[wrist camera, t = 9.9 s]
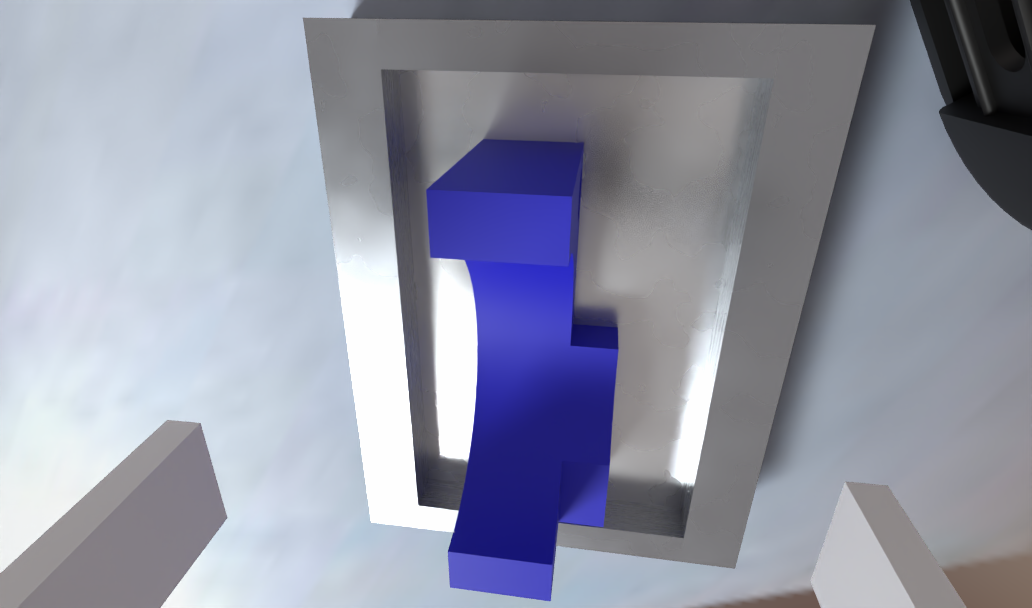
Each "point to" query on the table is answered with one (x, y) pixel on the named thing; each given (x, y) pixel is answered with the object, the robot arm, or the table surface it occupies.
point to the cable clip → (525, 363)
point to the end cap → (986, 91)
